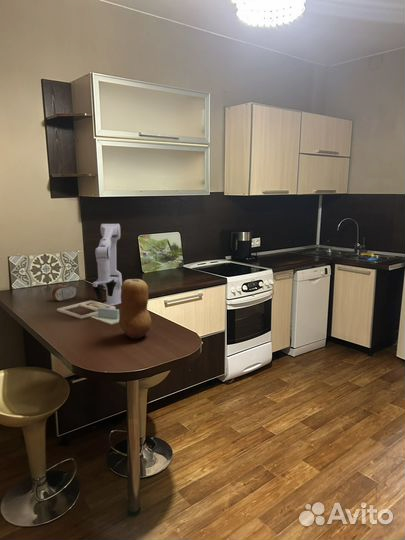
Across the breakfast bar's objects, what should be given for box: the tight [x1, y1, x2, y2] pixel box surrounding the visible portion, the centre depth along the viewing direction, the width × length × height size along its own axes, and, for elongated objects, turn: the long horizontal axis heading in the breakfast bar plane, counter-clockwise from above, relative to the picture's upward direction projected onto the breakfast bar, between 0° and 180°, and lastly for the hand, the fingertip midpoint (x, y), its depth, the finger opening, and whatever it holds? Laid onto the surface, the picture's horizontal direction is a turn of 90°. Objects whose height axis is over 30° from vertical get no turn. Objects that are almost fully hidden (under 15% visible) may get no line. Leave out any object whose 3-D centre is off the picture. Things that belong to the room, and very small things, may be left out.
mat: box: [90, 314, 119, 325], centre depth 194 cm, size 10×16×1 cm, turn 51°
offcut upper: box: [88, 303, 107, 308], centre depth 212 cm, size 4×10×1 cm, turn 50°
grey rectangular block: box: [97, 307, 120, 319], centre depth 194 cm, size 2×11×4 cm, turn 68°
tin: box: [51, 283, 78, 302], centre depth 228 cm, size 15×3×8 cm, turn 141°
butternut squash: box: [118, 278, 152, 340], centre depth 167 cm, size 14×13×25 cm
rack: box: [56, 299, 116, 319], centre depth 208 cm, size 21×21×2 cm
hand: (105, 297), depth 197 cm, fingers open, 7 cm apart
